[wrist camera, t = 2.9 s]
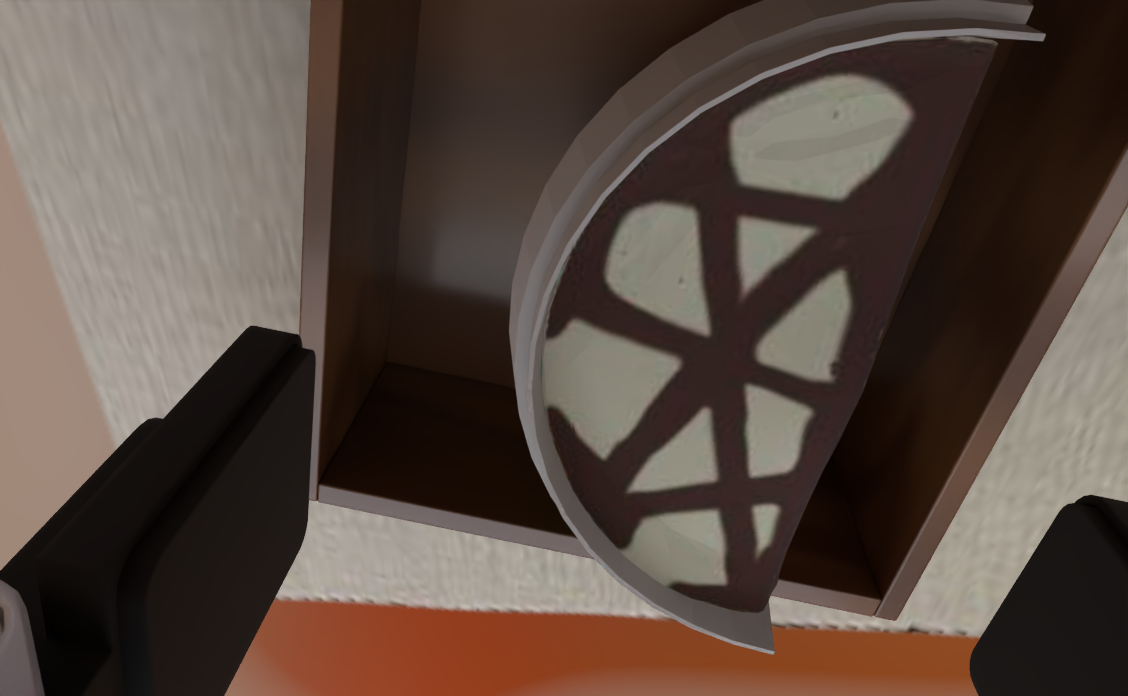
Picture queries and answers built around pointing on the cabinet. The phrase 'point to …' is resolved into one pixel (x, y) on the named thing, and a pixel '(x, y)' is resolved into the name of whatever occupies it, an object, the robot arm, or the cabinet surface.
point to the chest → (510, 195)
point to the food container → (733, 282)
